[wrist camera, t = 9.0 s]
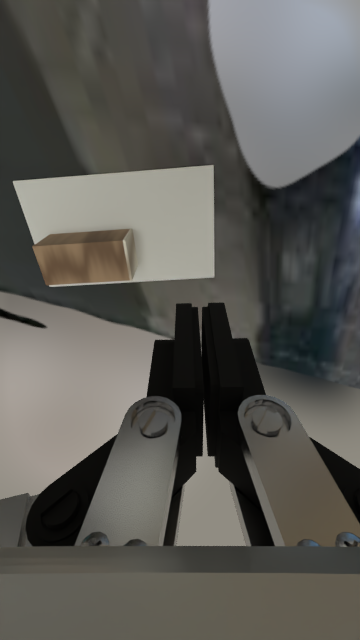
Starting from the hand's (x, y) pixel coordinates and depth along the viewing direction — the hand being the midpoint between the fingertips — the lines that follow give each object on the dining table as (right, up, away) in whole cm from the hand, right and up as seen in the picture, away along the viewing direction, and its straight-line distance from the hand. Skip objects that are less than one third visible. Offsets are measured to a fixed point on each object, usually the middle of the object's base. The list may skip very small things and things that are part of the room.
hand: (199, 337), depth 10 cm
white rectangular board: (-8, +12, +27) cm, 31 cm away
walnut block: (-7, +9, +26) cm, 28 cm away
